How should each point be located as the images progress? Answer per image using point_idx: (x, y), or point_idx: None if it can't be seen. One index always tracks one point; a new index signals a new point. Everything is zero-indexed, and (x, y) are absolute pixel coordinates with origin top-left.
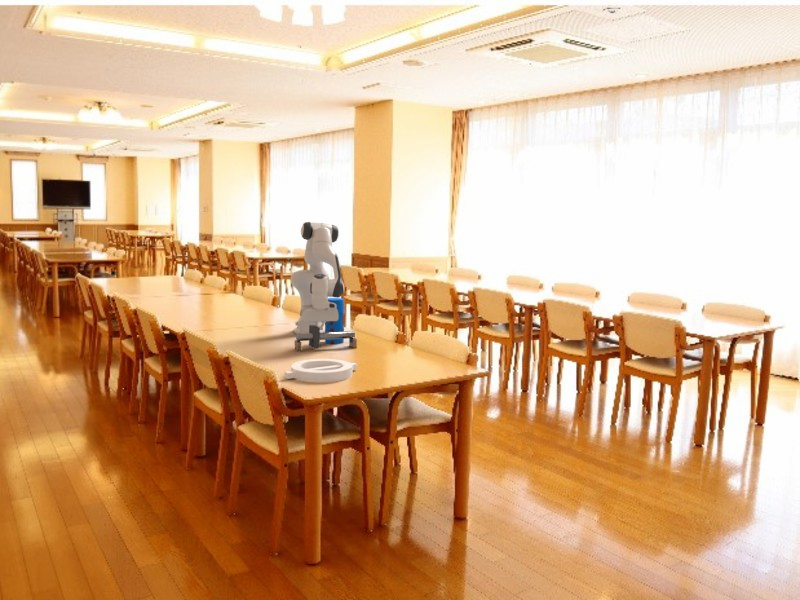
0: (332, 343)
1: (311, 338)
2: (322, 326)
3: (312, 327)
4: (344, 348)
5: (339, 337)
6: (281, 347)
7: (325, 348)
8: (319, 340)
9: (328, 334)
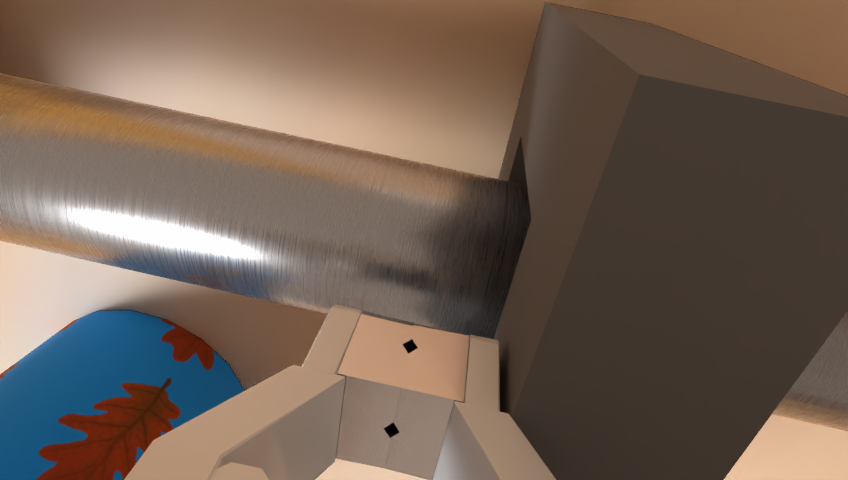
0: (190, 338)
1: None
2: (311, 371)
3: (763, 411)
4: (95, 7)
5: (28, 79)
6: (825, 453)
7: (364, 148)
8: (565, 15)
9: (236, 160)
